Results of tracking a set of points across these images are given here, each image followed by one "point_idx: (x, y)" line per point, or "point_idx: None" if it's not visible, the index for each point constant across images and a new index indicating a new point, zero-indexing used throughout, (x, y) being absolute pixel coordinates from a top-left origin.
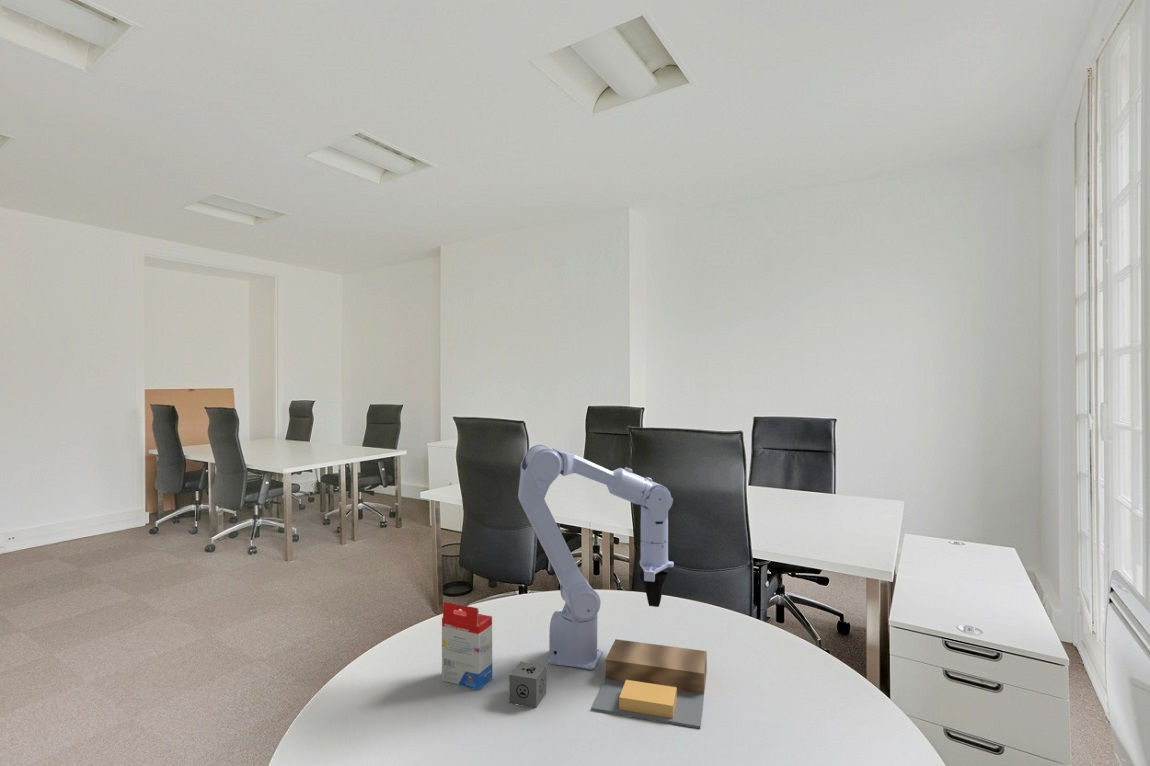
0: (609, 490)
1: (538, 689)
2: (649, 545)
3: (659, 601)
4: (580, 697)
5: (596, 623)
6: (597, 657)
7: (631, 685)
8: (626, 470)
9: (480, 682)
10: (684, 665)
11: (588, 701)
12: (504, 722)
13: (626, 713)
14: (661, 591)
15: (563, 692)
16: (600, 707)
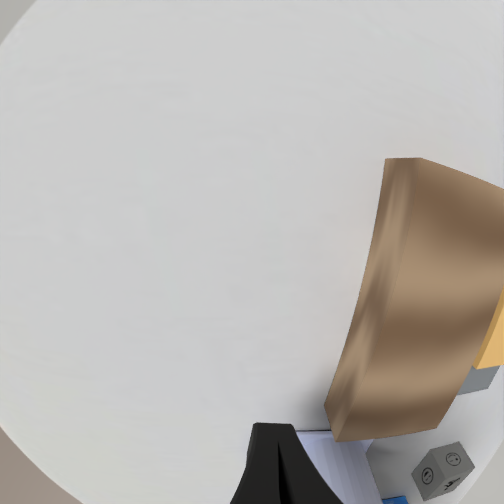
0: None
1: (462, 457)
2: None
3: (302, 445)
4: (453, 412)
5: (358, 501)
6: (332, 436)
7: (494, 354)
8: None
9: (404, 501)
10: (496, 249)
11: (466, 398)
12: (471, 449)
13: None
14: (322, 492)
15: (434, 434)
16: (490, 378)
